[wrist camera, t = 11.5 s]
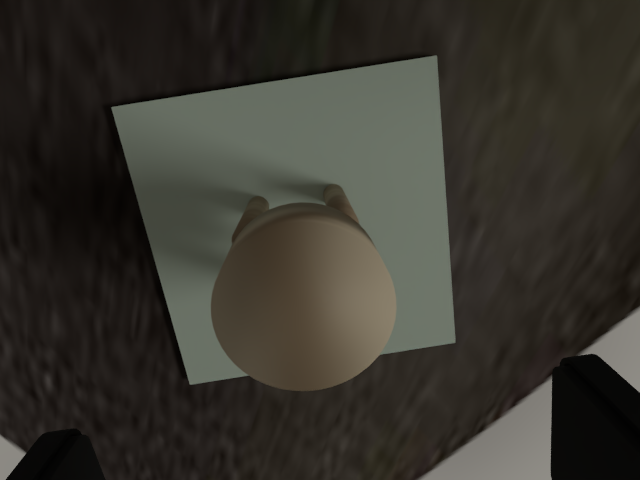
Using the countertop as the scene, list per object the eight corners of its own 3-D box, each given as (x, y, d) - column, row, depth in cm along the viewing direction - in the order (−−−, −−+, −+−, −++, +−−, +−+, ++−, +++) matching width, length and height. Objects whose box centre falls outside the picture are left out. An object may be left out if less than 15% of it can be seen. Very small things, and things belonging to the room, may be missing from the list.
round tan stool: (353, 168, 23) (386, 208, 14) (367, 281, 25) (404, 376, 16) (231, 187, 23) (190, 239, 14) (255, 298, 25) (232, 403, 16)
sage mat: (433, 56, 22) (436, 55, 21) (452, 338, 27) (455, 342, 26) (115, 106, 22) (111, 107, 21) (191, 379, 27) (189, 384, 26)
